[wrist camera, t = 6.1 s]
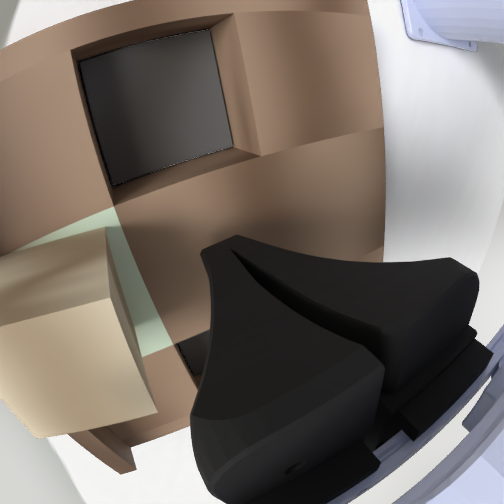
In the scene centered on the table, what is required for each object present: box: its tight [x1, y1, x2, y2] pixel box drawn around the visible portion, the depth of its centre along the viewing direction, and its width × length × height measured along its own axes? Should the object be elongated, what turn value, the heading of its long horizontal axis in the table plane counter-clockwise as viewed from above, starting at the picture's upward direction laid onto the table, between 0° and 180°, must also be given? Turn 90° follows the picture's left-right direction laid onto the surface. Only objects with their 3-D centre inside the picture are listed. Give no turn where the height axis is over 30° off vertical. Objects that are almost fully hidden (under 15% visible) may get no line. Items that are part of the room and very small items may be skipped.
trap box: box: [0, 0, 385, 474], centre depth 11 cm, size 17×18×4 cm
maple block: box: [0, 227, 158, 439], centre depth 8 cm, size 4×4×4 cm
